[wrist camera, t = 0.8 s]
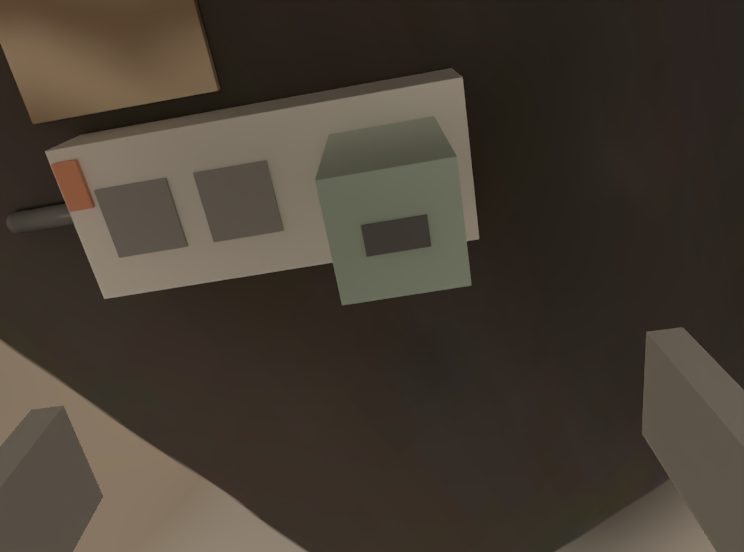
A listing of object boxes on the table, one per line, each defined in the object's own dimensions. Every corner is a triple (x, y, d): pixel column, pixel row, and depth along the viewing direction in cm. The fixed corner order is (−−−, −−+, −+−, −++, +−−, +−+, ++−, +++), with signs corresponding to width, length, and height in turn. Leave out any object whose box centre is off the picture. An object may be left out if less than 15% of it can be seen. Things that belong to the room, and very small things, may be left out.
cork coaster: (-48, -94, 28) (-56, -96, 27) (160, -138, 27) (155, -140, 26) (38, 122, 32) (32, 124, 31) (220, 89, 31) (218, 90, 31)
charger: (331, 126, 30) (314, 181, 21) (429, 108, 30) (457, 157, 20) (349, 219, 32) (341, 307, 23) (442, 203, 32) (472, 287, 23)
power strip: (41, 282, 36) (1, 317, 32) (-17, 152, 32) (-70, 172, 29) (467, 213, 34) (480, 241, 30) (451, 68, 31) (463, 77, 27)
